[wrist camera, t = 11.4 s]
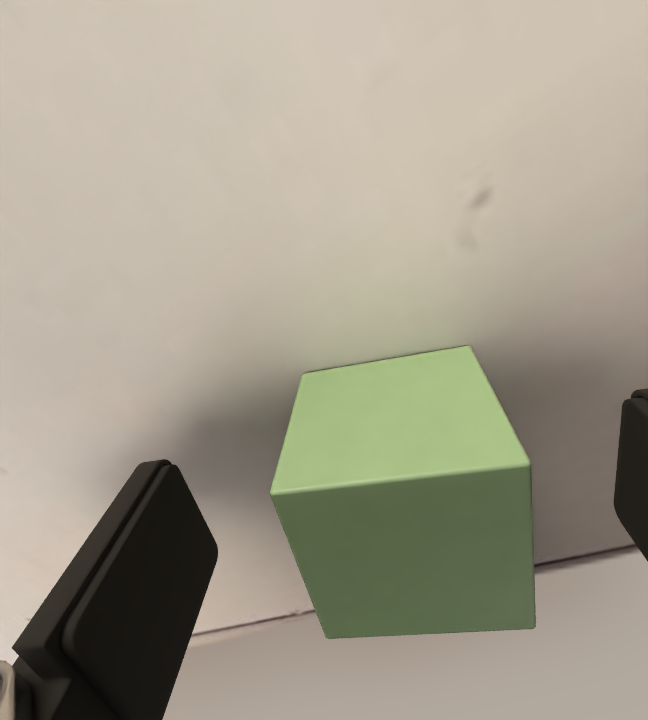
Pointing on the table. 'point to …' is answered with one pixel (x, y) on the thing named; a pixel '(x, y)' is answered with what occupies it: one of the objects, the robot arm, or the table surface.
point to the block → (408, 499)
